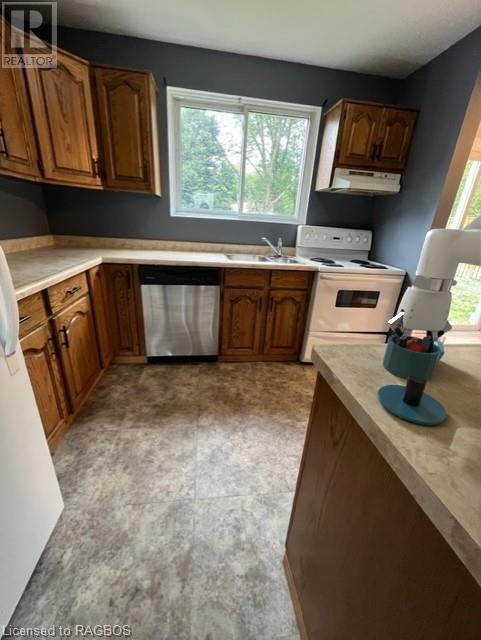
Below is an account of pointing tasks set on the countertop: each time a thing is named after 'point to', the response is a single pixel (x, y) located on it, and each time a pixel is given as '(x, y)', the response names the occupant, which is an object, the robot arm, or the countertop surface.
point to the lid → (412, 402)
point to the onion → (415, 345)
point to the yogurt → (440, 345)
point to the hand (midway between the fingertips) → (411, 351)
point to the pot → (410, 360)
